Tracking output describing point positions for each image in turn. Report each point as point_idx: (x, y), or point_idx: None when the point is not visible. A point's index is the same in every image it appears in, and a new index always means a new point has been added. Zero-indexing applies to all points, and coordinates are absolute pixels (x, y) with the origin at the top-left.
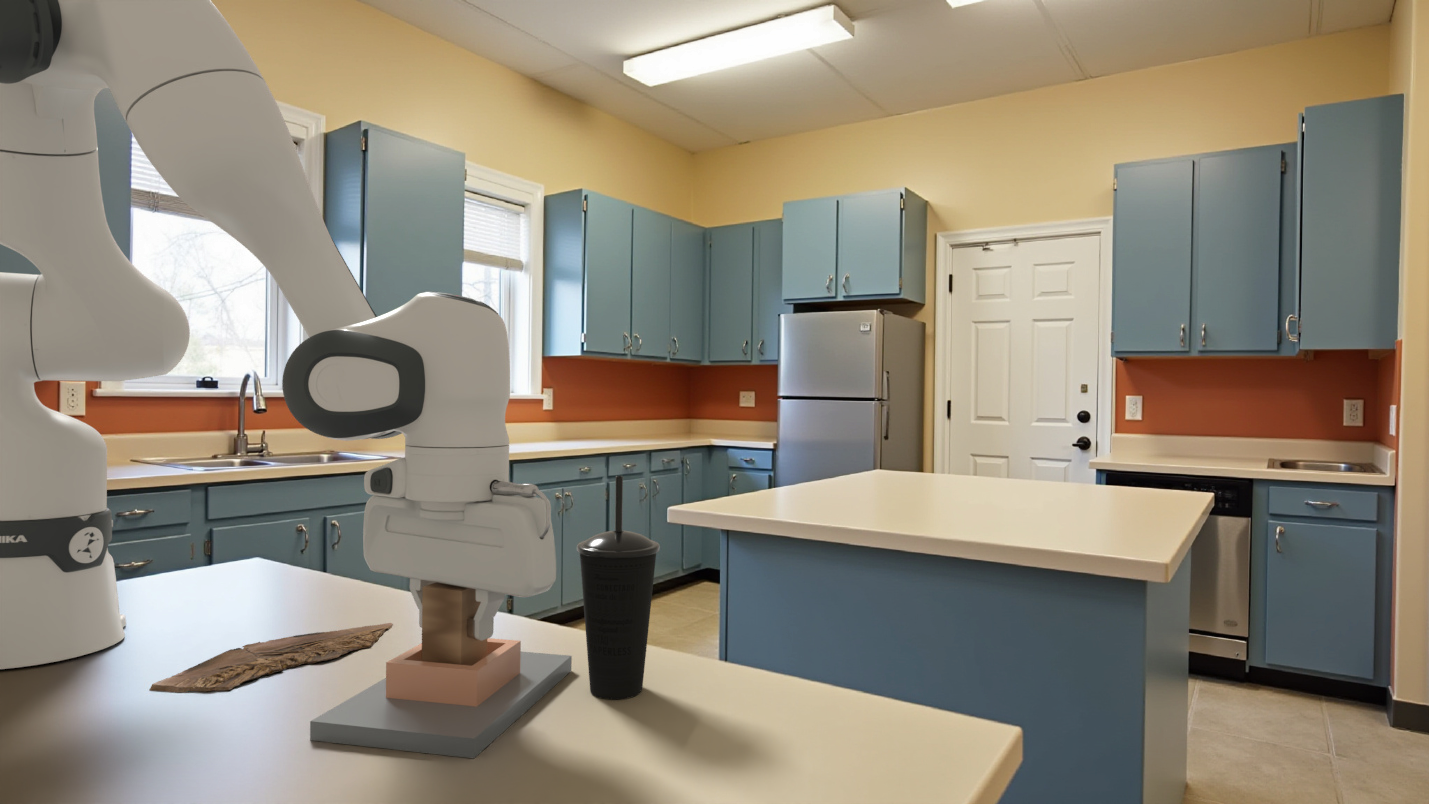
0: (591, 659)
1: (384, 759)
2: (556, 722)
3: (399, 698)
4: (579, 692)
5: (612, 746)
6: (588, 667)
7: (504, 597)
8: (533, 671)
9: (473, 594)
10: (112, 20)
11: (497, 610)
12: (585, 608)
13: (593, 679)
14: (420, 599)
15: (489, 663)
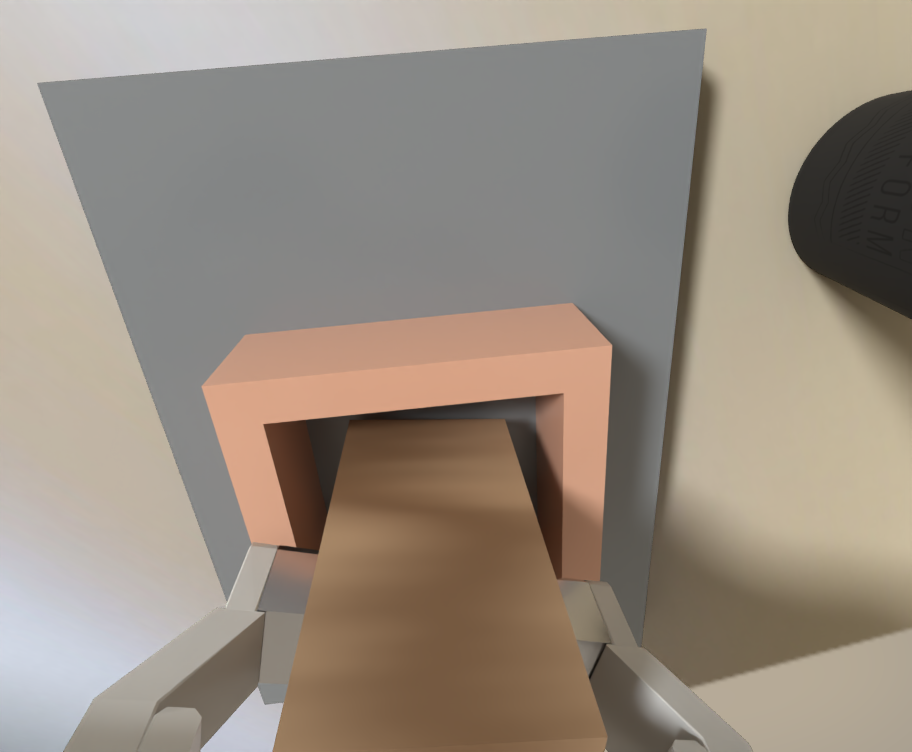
0: (894, 306)
1: None
2: (737, 451)
3: None
4: (753, 248)
5: (882, 510)
6: (840, 252)
7: (750, 747)
8: (613, 276)
9: None
10: None
11: (673, 677)
12: None
13: (844, 284)
14: (211, 734)
15: (598, 566)
